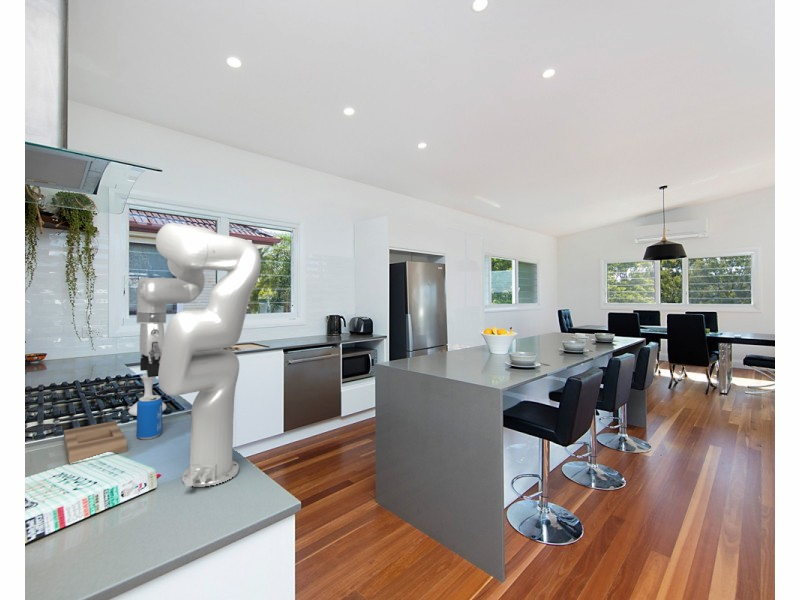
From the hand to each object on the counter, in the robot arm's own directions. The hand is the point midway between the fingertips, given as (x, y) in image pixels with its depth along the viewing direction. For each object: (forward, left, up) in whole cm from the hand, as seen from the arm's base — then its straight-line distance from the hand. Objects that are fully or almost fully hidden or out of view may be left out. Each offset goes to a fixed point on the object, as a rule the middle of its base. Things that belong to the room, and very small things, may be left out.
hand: (150, 373), depth 113 cm
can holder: (-7, +11, -20) cm, 24 cm away
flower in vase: (+21, +12, -20) cm, 31 cm away
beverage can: (0, 0, -20) cm, 20 cm away
